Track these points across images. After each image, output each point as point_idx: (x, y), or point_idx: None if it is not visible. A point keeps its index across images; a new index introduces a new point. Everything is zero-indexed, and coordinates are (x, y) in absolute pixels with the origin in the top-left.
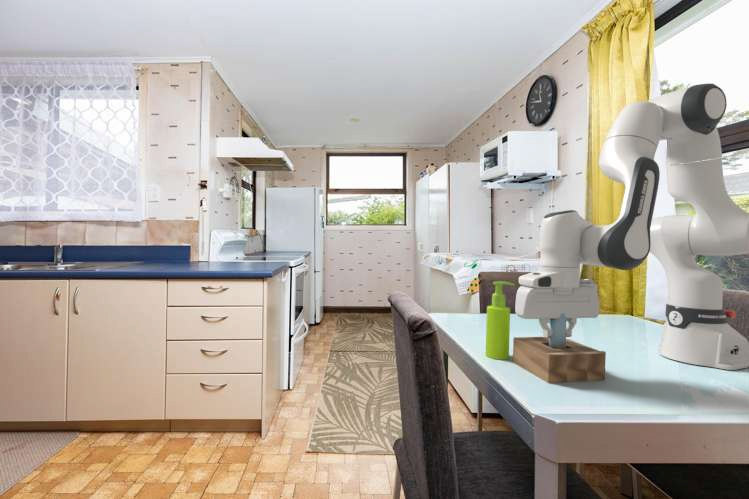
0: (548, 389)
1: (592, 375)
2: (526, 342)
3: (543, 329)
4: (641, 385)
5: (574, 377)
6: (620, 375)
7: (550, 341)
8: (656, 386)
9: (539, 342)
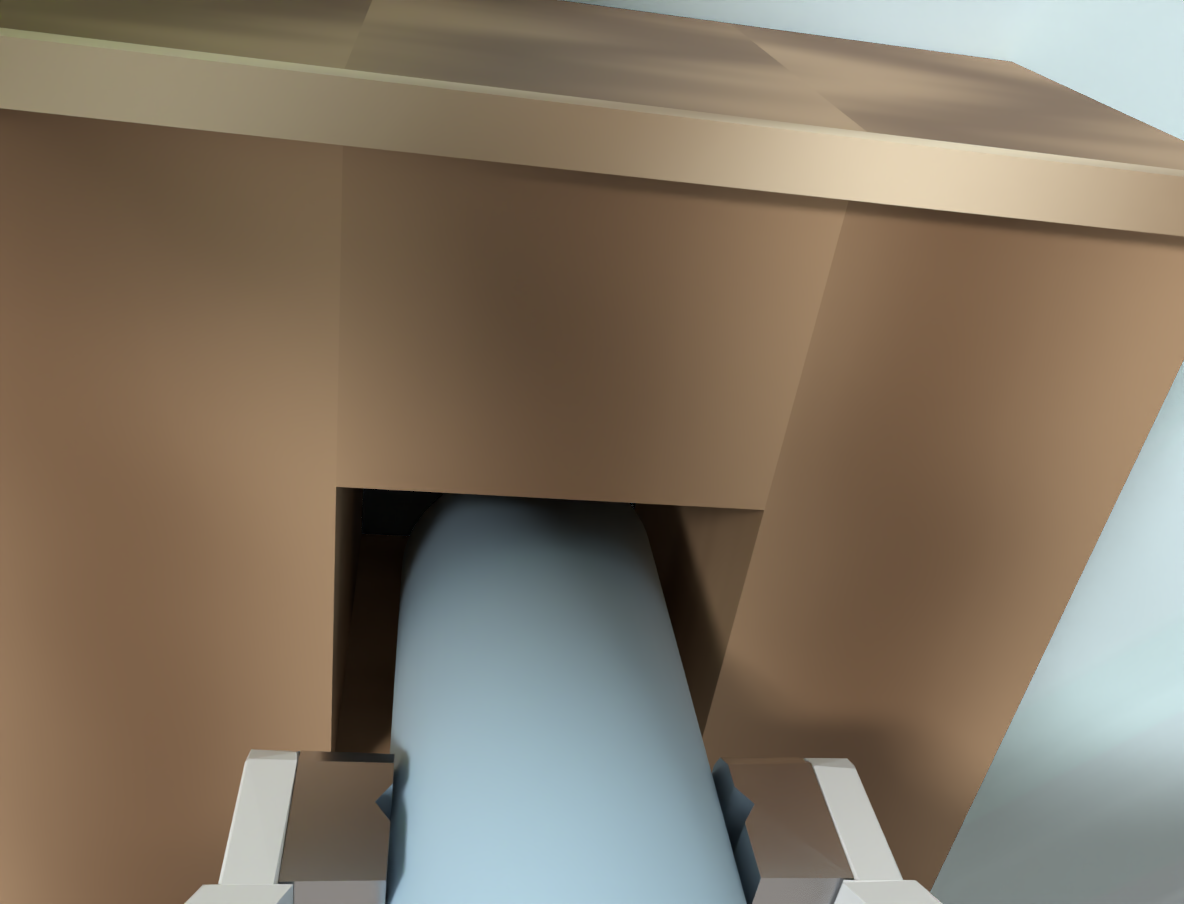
0: None
1: None
2: (8, 410)
3: (218, 892)
4: (971, 830)
5: None
6: (1082, 649)
7: (392, 724)
8: (1060, 853)
9: (338, 452)
